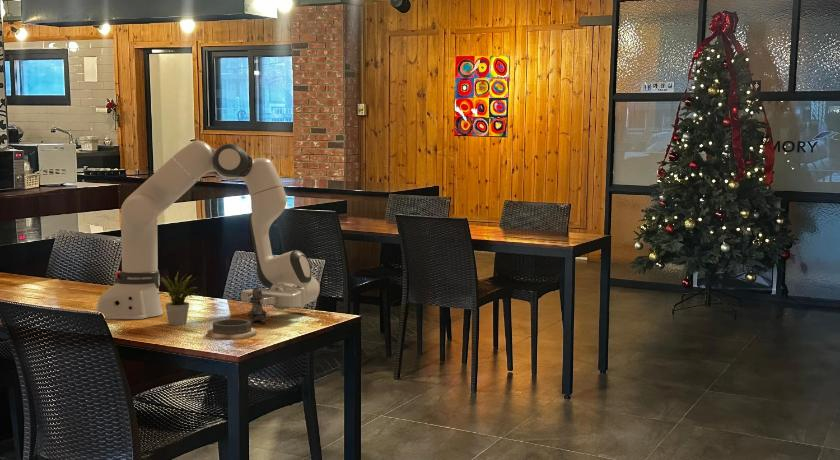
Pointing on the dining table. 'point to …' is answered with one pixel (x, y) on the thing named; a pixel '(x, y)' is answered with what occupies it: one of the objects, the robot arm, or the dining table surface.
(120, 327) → the dining table surface
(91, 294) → the dining table surface
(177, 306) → the house plant
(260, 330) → the dining table surface
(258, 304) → the dark chess piece
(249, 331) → the collar holder
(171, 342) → the dining table surface
